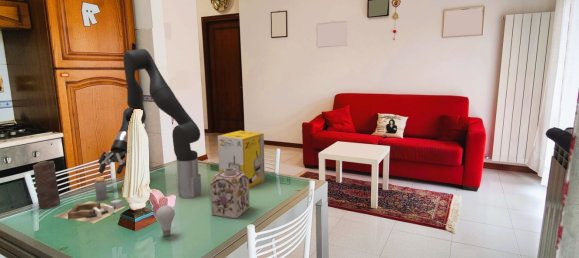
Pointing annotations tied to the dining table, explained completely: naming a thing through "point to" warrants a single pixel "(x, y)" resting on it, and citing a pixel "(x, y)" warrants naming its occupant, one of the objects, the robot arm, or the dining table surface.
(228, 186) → the decorative jar
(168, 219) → the lightbulb
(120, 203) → the cable route
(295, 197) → the dining table surface
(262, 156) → the packaging box
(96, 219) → the board
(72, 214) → the holder
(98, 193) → the connector
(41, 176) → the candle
